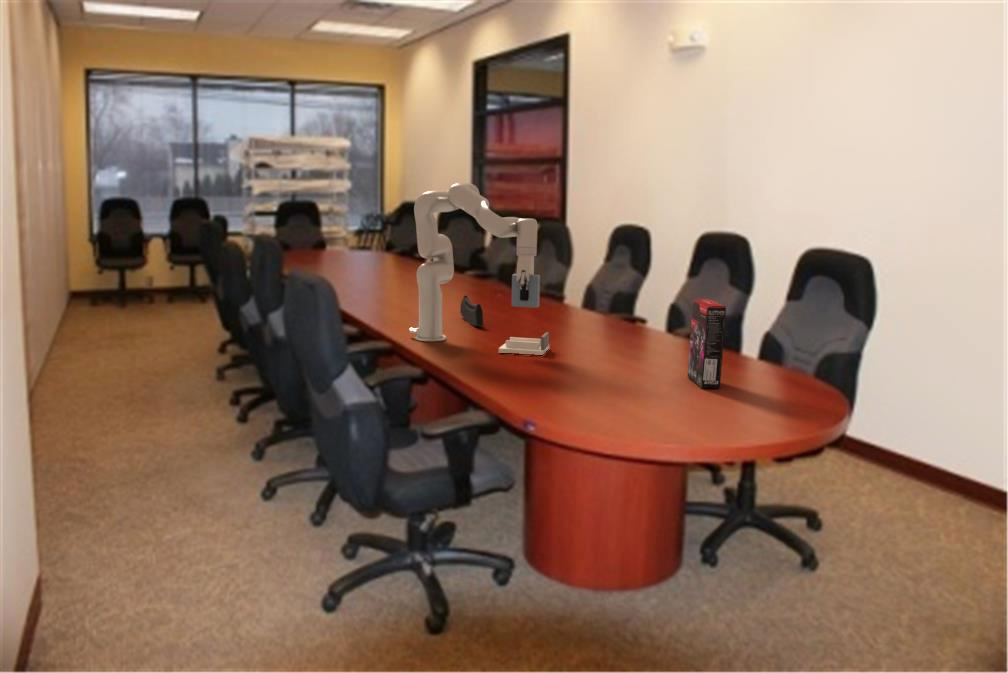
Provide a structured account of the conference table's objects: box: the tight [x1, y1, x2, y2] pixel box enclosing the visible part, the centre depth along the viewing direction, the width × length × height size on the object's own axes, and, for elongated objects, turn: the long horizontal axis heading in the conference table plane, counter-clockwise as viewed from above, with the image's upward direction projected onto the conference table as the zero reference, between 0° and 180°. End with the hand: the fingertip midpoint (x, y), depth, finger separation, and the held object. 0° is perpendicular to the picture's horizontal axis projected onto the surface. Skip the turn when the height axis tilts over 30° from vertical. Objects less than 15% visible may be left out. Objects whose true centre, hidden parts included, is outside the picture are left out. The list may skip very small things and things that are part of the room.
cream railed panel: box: [498, 332, 550, 356], centre depth 342 cm, size 17×14×7 cm
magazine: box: [459, 295, 484, 327], centre depth 404 cm, size 17×3×30 cm
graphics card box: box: [687, 298, 727, 389], centre depth 293 cm, size 17×7×27 cm, turn 5°
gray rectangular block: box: [511, 273, 541, 309], centre depth 339 cm, size 10×4×12 cm, turn 77°
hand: (525, 299), depth 339 cm, fingers closed on gray rectangular block, 4 cm apart
